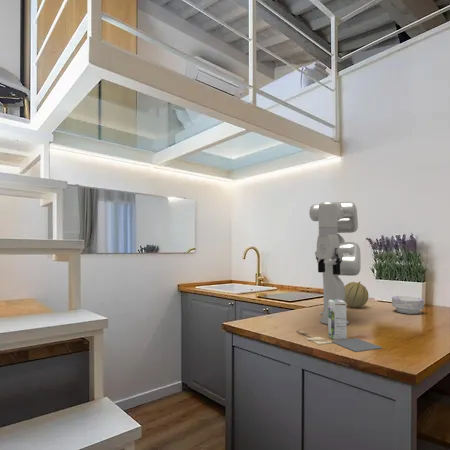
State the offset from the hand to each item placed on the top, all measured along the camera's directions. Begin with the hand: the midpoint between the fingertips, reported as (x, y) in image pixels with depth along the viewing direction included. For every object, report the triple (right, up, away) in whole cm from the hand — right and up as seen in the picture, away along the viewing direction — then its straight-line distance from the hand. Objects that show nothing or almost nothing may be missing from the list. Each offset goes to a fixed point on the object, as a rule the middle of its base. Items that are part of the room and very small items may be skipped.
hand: (328, 273), depth 142 cm
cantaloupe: (+33, -28, +57) cm, 72 cm away
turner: (-9, -24, -8) cm, 27 cm away
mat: (+5, -24, -17) cm, 30 cm away
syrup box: (+1, -24, -8) cm, 26 cm away
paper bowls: (+55, -27, +43) cm, 75 cm away
